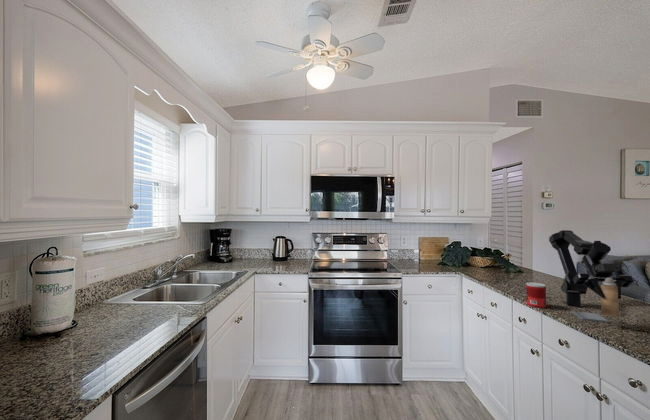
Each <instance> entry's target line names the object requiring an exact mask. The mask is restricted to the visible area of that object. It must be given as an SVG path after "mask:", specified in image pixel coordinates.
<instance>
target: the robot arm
mask: <svg viewBox="0 0 650 420" xmlns="http://www.w3.org/2000/svg"><path fill="white" fill-rule="evenodd" d="M548 242H549V243H550V245H551V247H552V248H553V249H554V250H556V252H557V254H558V257H559V259H560V262H561V265H562V268H563V271H564V275H565V276H564V278H563V283H562V284H561V285H560V291H561V292H563V293H565V300H563V301H562V302H563V303H564V304H565V305H566V306H569V307H570V306H571V307H579V308H585V305H583V304H582V295H586V294H587V290H588V289H589V290H590V291H593V292H594V293H595V294H596V295H598V296H599V297H600V298H601V297H602V298H604V297H605V296H604V294H603V292H602V290H601V285H599V283H603V281H605V279H606V278H608V277H609V278H612V279H613V280H614V283H616V286H618V300H621V299H622V290H621V289H622V288H629V287H630V286H631V285H632V284H633V283H634V282H635V279H634V278H633V276H632V275H629V274H628V275H627V274H626V275H625V274H618V275H617V276H616V277H612V276H613V273H616V272H618V271H621V269H622V268H621V265H620V263H618V262H610V263H605V262H604V263H603V262H602V260H605V259H606V257H607V256H608V255H609V253H610V252H611V251H612V250H611V247H610V245H608V244H607V243H604V242H601V240H594V241H593V242H592V241H588V240H584V239H583V238H581V237H580V236H579V235H577V234H575V233H574V231H573V230H570V229H569V230H567V229H565V230H564V229H562V230H559V231H558V232H556V233H552V234H551V235H550V236H549V238H548ZM570 245H571V246H572V247H573V251H574V252H575V254H577V256H583V257H582V258H581V264H584V265H585V267H586V269H587V270H586V272H587V273H585V272H583V273H582V272H577V268H576V266H575V263H574V261H573V257H572V255H571V252H570V249H569V247H570Z"/></svg>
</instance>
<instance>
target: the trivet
mask: <svg viewBox="0 0 650 420" xmlns="http://www.w3.org/2000/svg"><path fill="white" fill-rule="evenodd" d="M572 314H573V315H575V316H576V317H577V318H579V319H580V320H581V319H582V320H581V321H587V320H588V321H589V322H597V321H600V323H607V322H608V323H609V320H608V319H606V318H605V317H603V316H602V315H600V314H598V313H596V312H595V313H593V312H584V311H574V310H573V311H572Z"/></svg>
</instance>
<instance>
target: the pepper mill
mask: <svg viewBox="0 0 650 420" xmlns="http://www.w3.org/2000/svg"><path fill="white" fill-rule="evenodd" d="M612 278H613V277H610V278H609V277H608V278H606V279H605V281H603V282H602V283H601V284H600V288H601V290H602V292H603V294H604V296H605V297H604V298H602V297H600V300H601V302H600V305H601V306H600V307H601V314H602V315H604V316H605V315H606V316H609V317H619V299H618V286H616V283H614V280H613V279H612Z"/></svg>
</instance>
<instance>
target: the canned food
mask: <svg viewBox="0 0 650 420" xmlns="http://www.w3.org/2000/svg"><path fill="white" fill-rule="evenodd" d="M525 289H526V295H525V296H526V305H527V306H529V307H532V308H537V309H545V308H546V307H547V285H546V284H544V283H539V282H533V281H532V282H530V281H529V282H526V284H525Z"/></svg>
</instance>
